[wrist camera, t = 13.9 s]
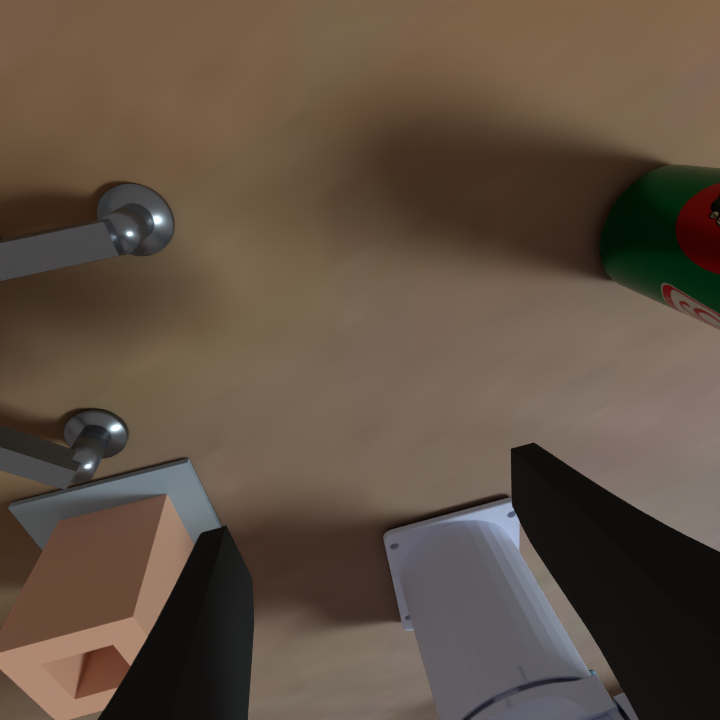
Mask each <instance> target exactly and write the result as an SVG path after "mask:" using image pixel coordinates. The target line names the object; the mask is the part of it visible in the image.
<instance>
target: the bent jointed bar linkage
mask: <svg viewBox="0 0 720 720" xmlns="http://www.w3.org/2000/svg"><path fill="white" fill-rule="evenodd" d="M173 232H174V217H173V214H172V211H171V209H170V207H169V205H168V204H167V202H166V201H165V200H164V199H163V198H162V197H161V196H160V195H159V194H158V193H157V192H155V191H154V190H152V189H151V188H149V187H146V186H144V185H140V184H135V183H126V184H121V185H118V186H115V187H113V188H111V189H110V190H108V191H107V192H106V193H105V194H104V195H103V196H102V198H101V199H100V201H99V204H98V208H97V219H95V220H90V221H85V222H80V223H76V224H71V225H66V226H61V227H57V228H52V229H47V230H42V231H37V232H33V233H28V234H23V235H18V236H13V237H9V238H4V239H1V238H0V281H3V280H8V279H12V278H17V277H22V276H26V275H31V274H36V273H40V272H45V271H50V270H54V269H59V268H64V267H68V266H73V265H77V264H82V263H87V262H91V261H96V260H101V259H105V258H110V257H115V256H119V255H125V254H131V255H135V256H148V255H152V254H155V253H157V252H159V251H161V250H162V249H163V248H164V247H165V246H166V245H167V244H168V243H169V241H170V240H171V238H172V236H173ZM128 436H129V432H128V428H127V426H126V424H125V423H124V421H123V420H122V419H121V418H120V417H118V416H117V415H115V414H113V413H111V412H109V411H106V410H102V409H87V410H83V411H80V412H78V413H76V414H75V415H73V416H72V417H71V418H70V420H69V421H68V423H67V424H66V426H65V428H64V438H65V441H66V442H67V444H68V445H69V447H70V448H67V447H64V446H61V445H58V444H55V443H52V442H49V441H46V440H43V439H40V438H37V437H34V436H31V435H28V434H25V433H22V432H20V431H17V430H14V429H11V428H8V427H5V426H2V425H0V470H1V471H5V472H8V473H11V474H15V475H18V476H21V477H24V478H28V479H31V480H34V481H38V482H41V483H44V484H48V485H51V486H54V487H58V488H61V489H64V490H66V489H67V487H68V486H69V484H70V483H75V484H81V483H85V482H88V481H89V480H90V479H91V478H92V477H93V475H94V473H95V471H96V469H97V467H98V465H99V463H100V461H101V459H103V458H109V457H112V456H114V455H116V454H118V453H119V452H121V451H122V449H123V448H124V447H125V445H126V442H127V440H128Z"/></svg>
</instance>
